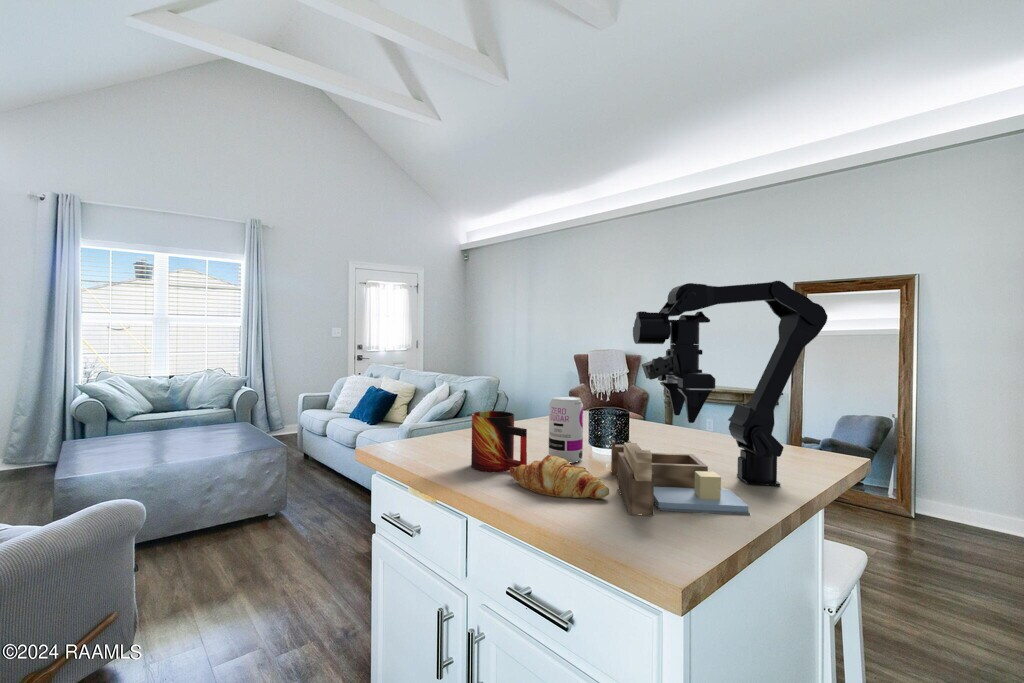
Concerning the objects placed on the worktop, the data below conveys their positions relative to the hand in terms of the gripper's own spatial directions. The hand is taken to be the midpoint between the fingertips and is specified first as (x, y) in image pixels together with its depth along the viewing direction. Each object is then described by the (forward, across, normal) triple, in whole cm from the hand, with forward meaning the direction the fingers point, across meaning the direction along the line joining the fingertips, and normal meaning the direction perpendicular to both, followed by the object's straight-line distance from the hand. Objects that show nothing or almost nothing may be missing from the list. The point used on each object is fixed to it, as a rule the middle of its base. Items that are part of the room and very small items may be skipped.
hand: (683, 418), depth 101 cm
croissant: (+13, +9, -27) cm, 31 cm away
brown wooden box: (+13, +8, -6) cm, 16 cm away
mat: (+13, +14, -2) cm, 19 cm away
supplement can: (+13, -15, -23) cm, 31 cm away
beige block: (+7, +15, -13) cm, 21 cm away
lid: (+13, +14, -2) cm, 19 cm away
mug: (+13, -7, -39) cm, 41 cm away
